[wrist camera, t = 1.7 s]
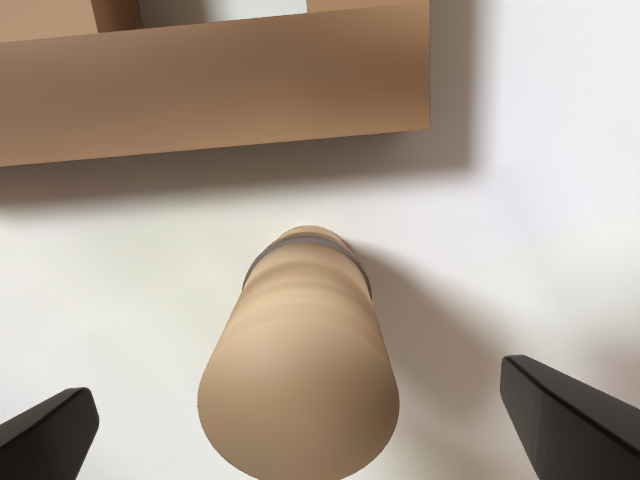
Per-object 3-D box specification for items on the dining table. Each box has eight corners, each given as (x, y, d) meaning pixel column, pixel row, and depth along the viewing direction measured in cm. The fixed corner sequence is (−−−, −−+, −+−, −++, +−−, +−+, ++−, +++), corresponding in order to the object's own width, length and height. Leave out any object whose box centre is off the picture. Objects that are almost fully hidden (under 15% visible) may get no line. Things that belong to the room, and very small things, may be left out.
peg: (363, 309, 16) (406, 483, 8) (264, 316, 16) (211, 496, 8) (358, 211, 14) (402, 305, 7) (250, 220, 15) (173, 323, 7)
